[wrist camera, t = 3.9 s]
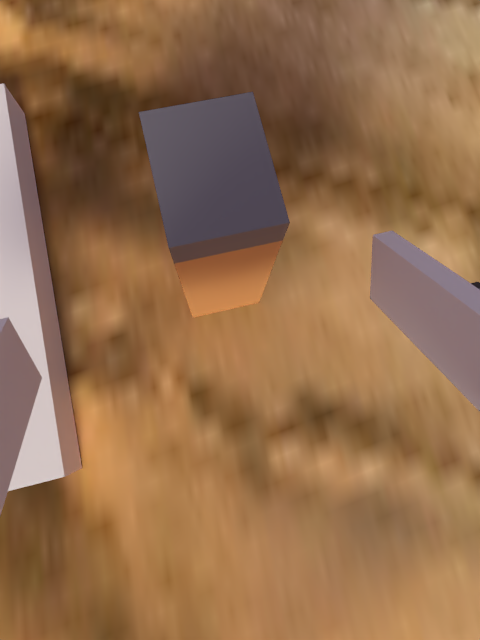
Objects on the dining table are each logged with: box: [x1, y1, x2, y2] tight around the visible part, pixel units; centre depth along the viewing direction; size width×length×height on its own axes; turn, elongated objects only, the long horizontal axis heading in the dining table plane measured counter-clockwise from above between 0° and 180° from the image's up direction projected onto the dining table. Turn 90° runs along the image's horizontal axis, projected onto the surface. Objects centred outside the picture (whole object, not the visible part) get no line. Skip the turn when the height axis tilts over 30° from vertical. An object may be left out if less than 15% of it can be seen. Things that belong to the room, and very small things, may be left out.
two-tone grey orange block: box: [139, 92, 290, 317], centre depth 19 cm, size 5×4×11 cm
